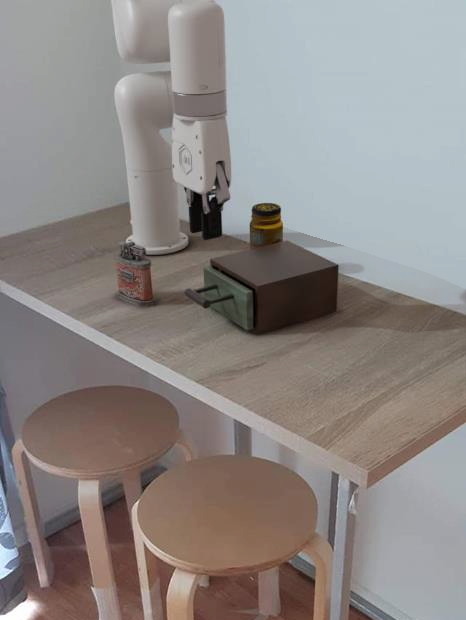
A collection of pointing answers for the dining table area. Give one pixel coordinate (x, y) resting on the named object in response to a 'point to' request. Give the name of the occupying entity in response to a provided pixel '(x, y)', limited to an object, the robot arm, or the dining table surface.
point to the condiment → (265, 225)
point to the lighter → (134, 274)
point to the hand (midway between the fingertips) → (206, 233)
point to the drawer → (226, 297)
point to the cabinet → (284, 283)
